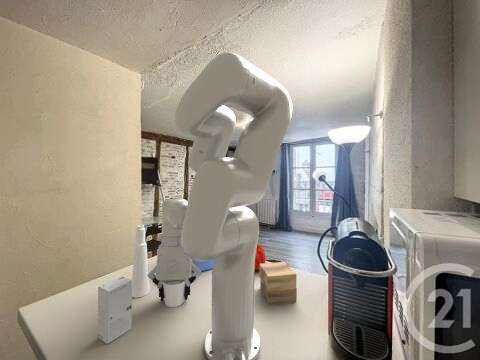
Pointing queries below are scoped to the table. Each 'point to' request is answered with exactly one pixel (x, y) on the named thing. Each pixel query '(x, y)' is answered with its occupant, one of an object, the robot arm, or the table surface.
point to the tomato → (259, 257)
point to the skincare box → (114, 309)
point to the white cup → (174, 292)
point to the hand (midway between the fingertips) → (174, 297)
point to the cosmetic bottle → (140, 265)
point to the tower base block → (279, 295)
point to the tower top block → (277, 276)
